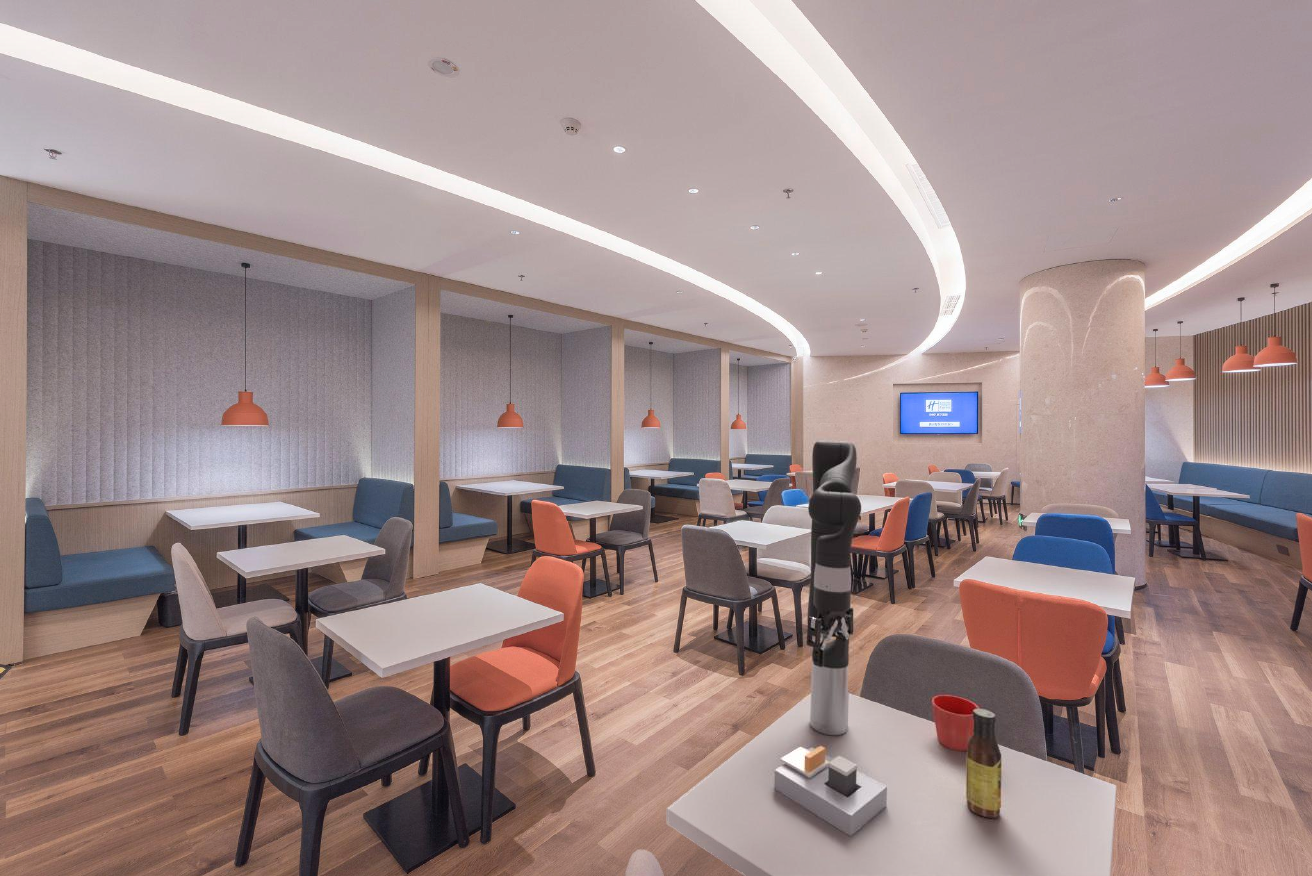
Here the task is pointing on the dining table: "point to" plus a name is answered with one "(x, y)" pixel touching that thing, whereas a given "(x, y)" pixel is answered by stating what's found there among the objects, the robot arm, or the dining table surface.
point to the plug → (842, 776)
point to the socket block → (833, 797)
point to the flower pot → (953, 720)
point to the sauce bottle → (983, 766)
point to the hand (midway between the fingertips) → (830, 660)
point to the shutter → (806, 760)
